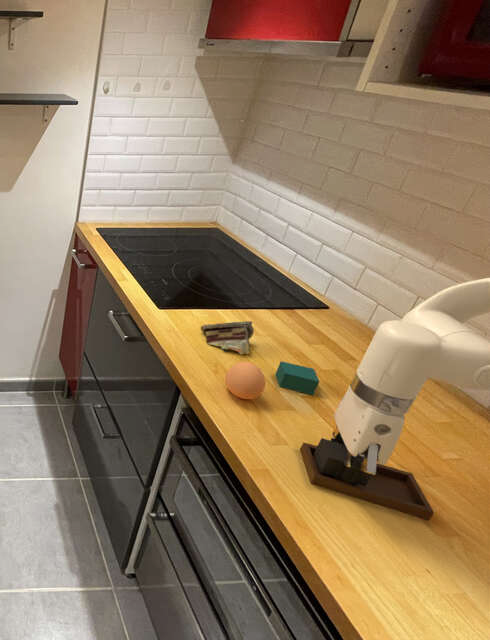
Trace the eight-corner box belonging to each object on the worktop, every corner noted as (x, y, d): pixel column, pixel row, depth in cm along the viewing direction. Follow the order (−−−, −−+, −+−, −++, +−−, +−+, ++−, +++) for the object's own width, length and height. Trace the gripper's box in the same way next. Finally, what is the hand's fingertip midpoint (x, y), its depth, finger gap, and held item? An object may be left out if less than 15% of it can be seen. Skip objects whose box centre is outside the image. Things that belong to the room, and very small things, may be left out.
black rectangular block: (356, 465, 82) (364, 450, 80) (365, 486, 78) (374, 470, 76) (313, 453, 84) (321, 437, 82) (320, 472, 80) (328, 457, 78)
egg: (219, 379, 104) (229, 350, 101) (256, 389, 101) (267, 359, 98) (222, 400, 98) (233, 370, 94) (261, 411, 95) (273, 380, 92)
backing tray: (407, 480, 81) (412, 473, 80) (428, 520, 74) (434, 512, 73) (299, 449, 86) (303, 442, 86) (310, 483, 80) (314, 476, 79)
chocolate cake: (197, 347, 116) (245, 333, 107) (197, 326, 120) (242, 312, 112) (220, 368, 118) (268, 357, 109) (218, 347, 122) (264, 335, 114)
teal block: (307, 382, 104) (313, 368, 102) (313, 395, 100) (319, 381, 98) (275, 374, 106) (280, 361, 104) (279, 386, 102) (284, 373, 100)
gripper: (436, 437, 65) (384, 518, 72) (388, 366, 79) (348, 440, 86) (372, 420, 67) (328, 500, 75) (336, 355, 82) (302, 428, 89)
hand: (339, 467), depth 81 cm, fingers closed on black rectangular block, 4 cm apart
